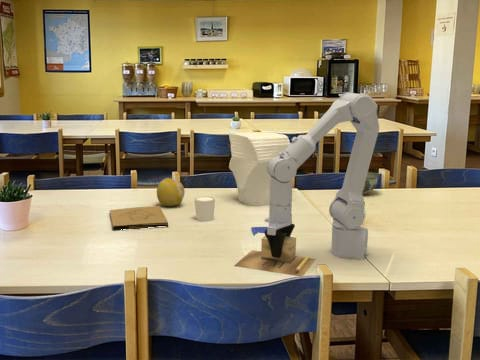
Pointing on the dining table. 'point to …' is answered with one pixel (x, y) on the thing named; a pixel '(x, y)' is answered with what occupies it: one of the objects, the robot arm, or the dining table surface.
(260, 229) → the hard drive
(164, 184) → the fruit
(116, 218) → the box
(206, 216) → the shot glass
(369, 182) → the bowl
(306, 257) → the pencil
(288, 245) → the block
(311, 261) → the board
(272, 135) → the paper stack
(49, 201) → the dining table surface
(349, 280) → the dining table surface
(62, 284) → the dining table surface
